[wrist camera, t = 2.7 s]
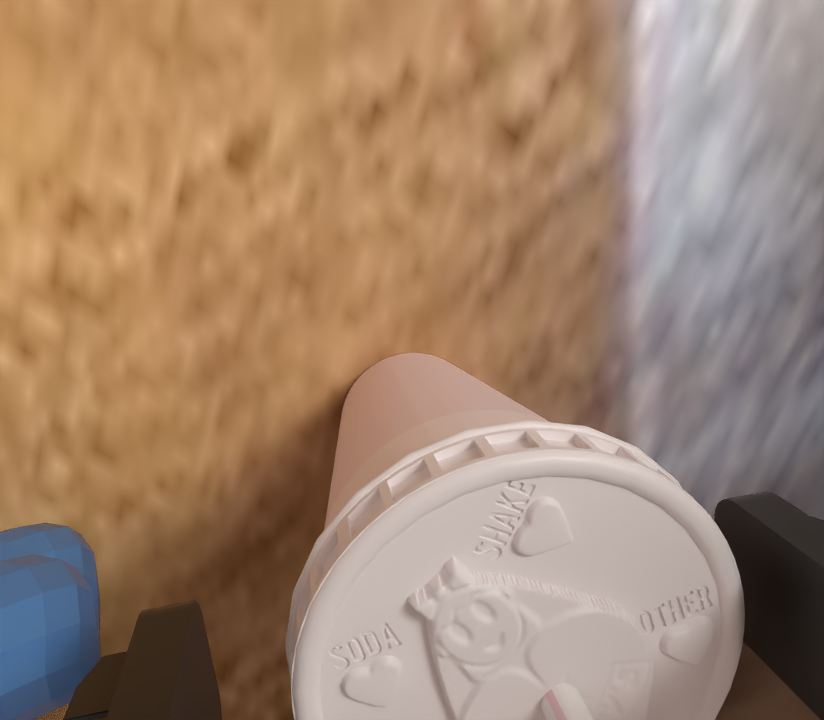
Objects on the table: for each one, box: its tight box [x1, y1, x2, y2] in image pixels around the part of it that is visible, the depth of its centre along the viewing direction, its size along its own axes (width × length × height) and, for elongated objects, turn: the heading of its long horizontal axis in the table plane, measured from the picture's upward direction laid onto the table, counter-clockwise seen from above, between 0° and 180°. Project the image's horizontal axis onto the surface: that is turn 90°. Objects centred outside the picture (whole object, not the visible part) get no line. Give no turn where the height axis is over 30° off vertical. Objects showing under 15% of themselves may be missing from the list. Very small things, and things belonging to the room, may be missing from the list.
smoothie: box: [285, 353, 745, 720], centre depth 12 cm, size 6×6×14 cm
